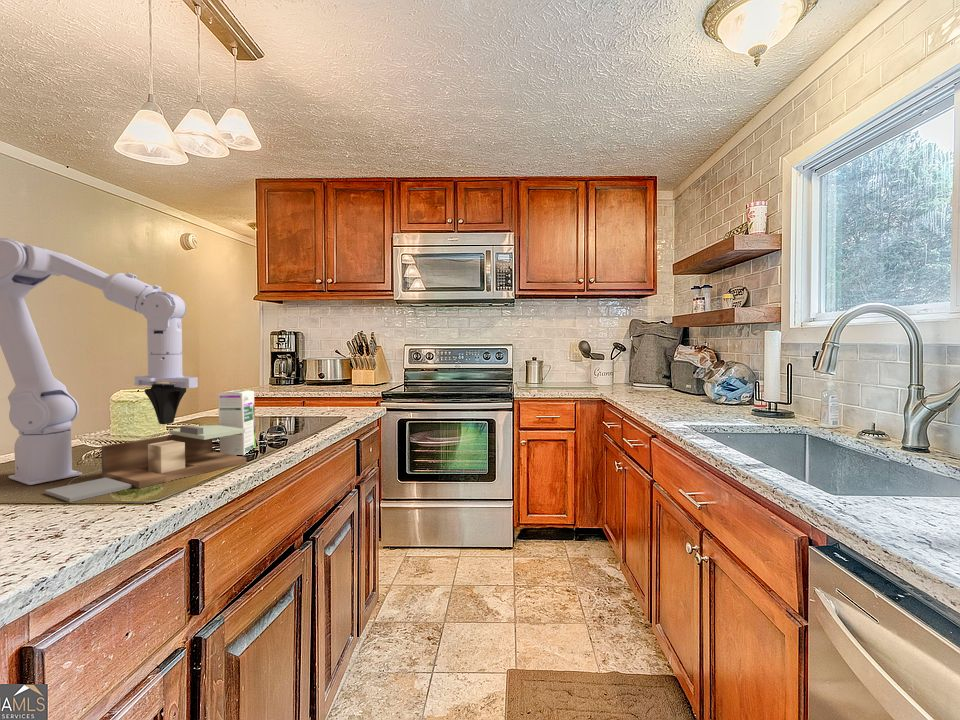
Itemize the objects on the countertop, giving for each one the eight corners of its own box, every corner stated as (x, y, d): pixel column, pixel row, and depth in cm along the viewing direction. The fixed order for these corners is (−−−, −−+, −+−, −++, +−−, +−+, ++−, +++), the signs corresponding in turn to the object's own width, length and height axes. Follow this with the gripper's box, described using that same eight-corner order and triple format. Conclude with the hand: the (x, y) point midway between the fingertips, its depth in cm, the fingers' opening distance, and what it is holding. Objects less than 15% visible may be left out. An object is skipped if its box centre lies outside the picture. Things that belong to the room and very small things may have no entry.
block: (148, 474, 96) (147, 444, 96) (172, 469, 100) (171, 440, 100) (161, 478, 94) (160, 446, 94) (185, 472, 98) (184, 442, 97)
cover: (169, 434, 104) (169, 424, 104) (210, 427, 112) (210, 418, 111) (204, 439, 98) (204, 429, 98) (245, 432, 106) (244, 423, 106)
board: (102, 478, 93) (101, 446, 93) (209, 455, 112) (208, 429, 111) (139, 488, 87) (138, 454, 87) (246, 463, 105) (245, 434, 105)
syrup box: (244, 456, 112) (243, 392, 111) (218, 455, 112) (217, 392, 111) (256, 450, 117) (255, 389, 117) (231, 450, 117) (230, 389, 117)
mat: (44, 493, 84) (44, 490, 84) (105, 480, 92) (105, 477, 92) (69, 502, 79) (69, 498, 79) (131, 487, 87) (131, 484, 87)
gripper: (118, 354, 95) (119, 424, 95) (173, 355, 90) (174, 429, 90) (153, 353, 101) (154, 419, 102) (206, 354, 96) (207, 423, 97)
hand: (166, 423), depth 96 cm, fingers closed
